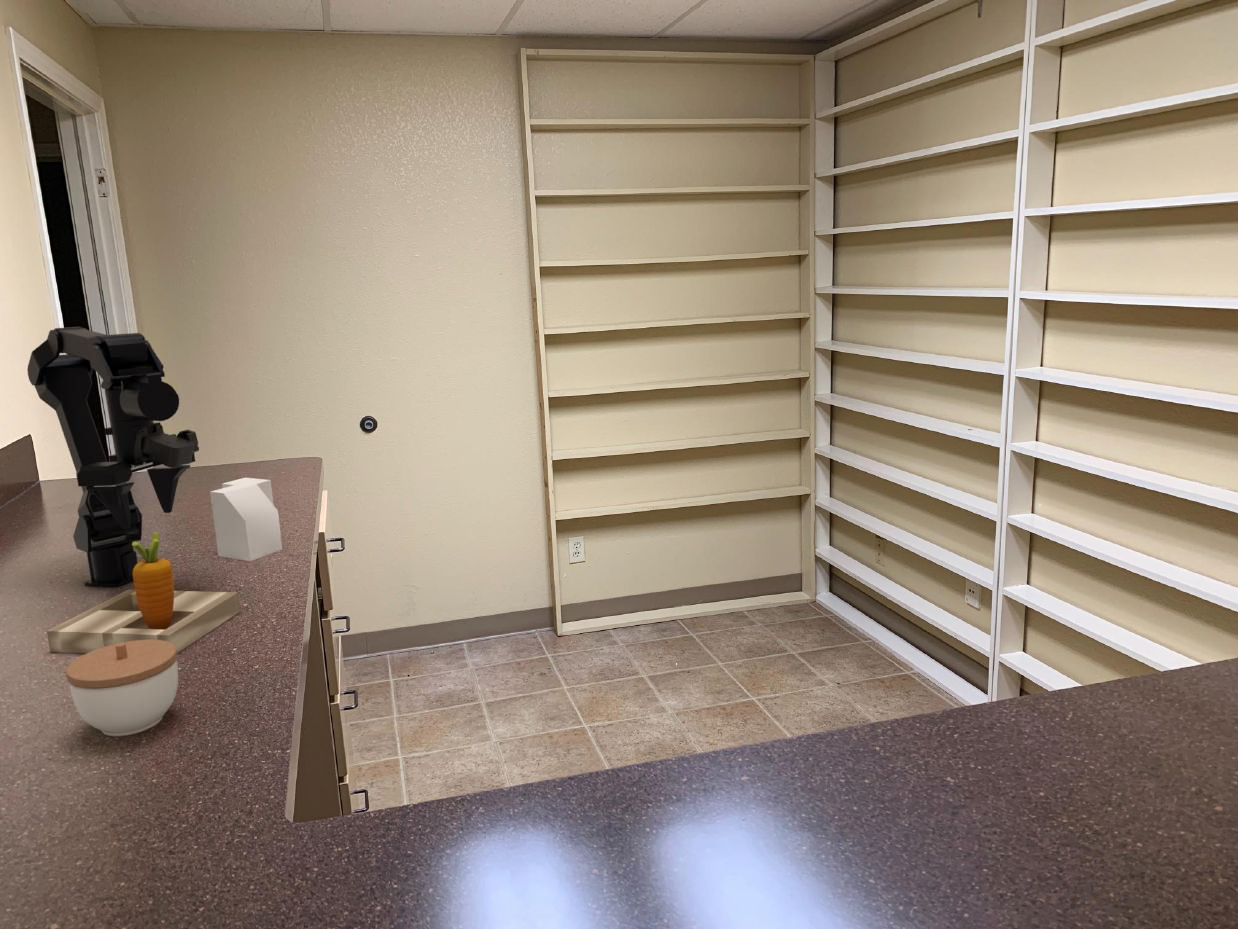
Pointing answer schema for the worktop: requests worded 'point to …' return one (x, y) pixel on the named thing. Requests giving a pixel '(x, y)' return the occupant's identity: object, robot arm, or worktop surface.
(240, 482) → the white angular block
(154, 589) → the carrot
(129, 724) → the lidded jar
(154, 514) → the worktop surface
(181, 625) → the socket board
